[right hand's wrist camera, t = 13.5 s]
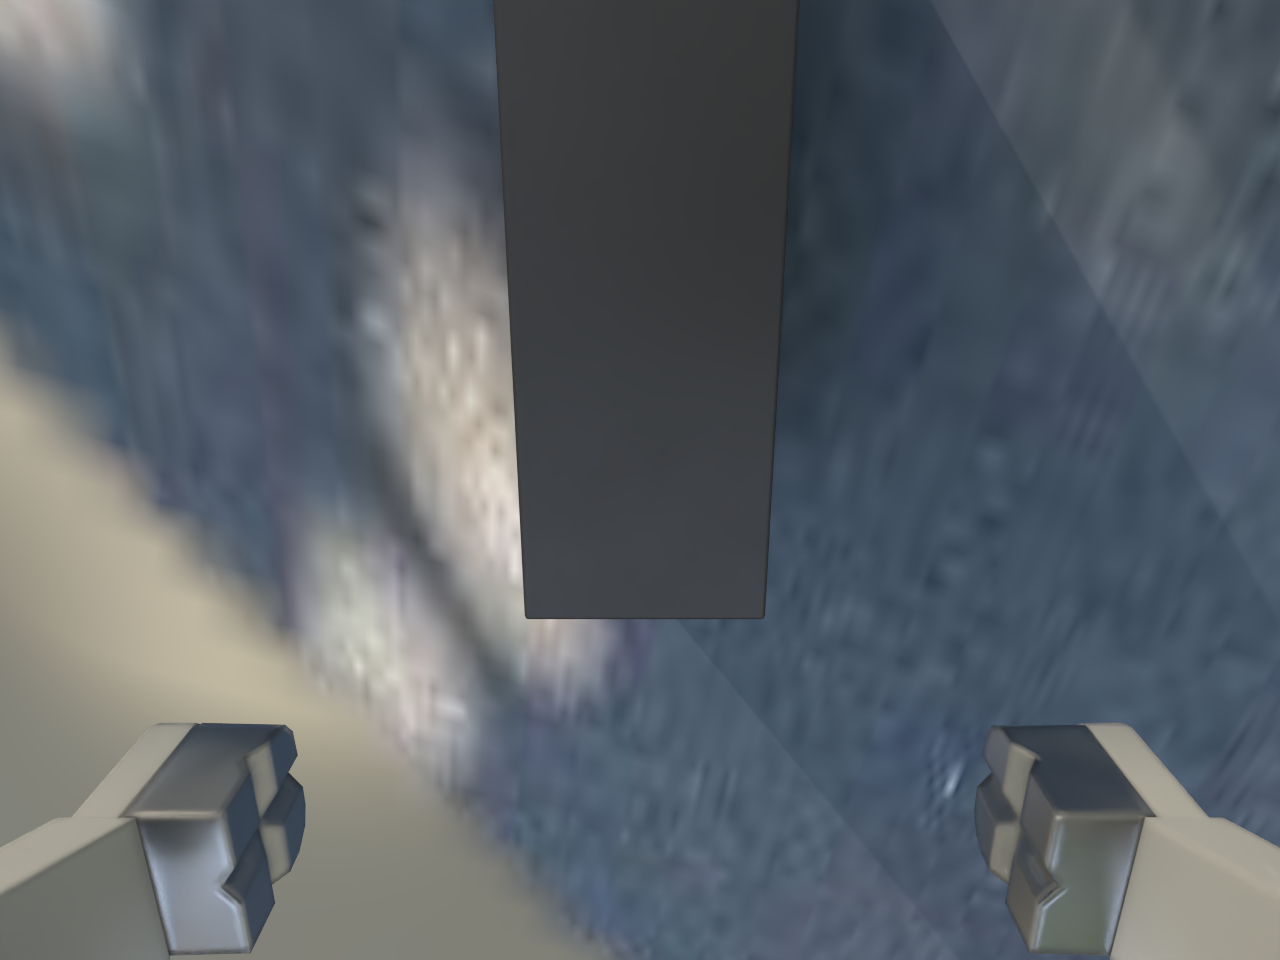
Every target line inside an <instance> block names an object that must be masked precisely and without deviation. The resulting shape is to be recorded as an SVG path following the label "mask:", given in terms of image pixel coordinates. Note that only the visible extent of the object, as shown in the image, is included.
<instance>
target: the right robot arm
mask: <svg viewBox="0 0 1280 960" xmlns="http://www.w3.org/2000/svg"><path fill="white" fill-rule="evenodd" d="M296 757H297V750H296V745H295V740H294V735H293V731H292V730H291V729H289V728H288V727H287V726H286V725H267V724H223V723H202V724H198V723H159V724H156V725H153V726H150V727H148V728H147V729H146V730H145V731H144V733H143V734H142V735H141V736H140V737H139V739H138V740H137V741H136V742H135V743H134V744H133V745H132V747H131V748H130V749H129V750H128V751H127V753H126V754H125V755H124V756H123V757H122V758H121V760H120V761H119V762H118V763H117V764H116V765H115V767H114V768H113V769H112V770H111V771H110V772H109V774H108V775H107V776H106V777H105V778H104V779H103V781H102V782H101V783H100V784H99V785H98V786H97V788H96V789H95V790H94V791H93V792H92V794H91V795H90V796H89V797H88V798H87V799H86V801H85V802H84V803H83V804H82V805H81V806H80V808H79V809H78V810H77V811H76V812H75V813H74V815H73V816H72V817H71V818H55V819H53V820H52V821H50V822H48V823H46V824H44V825H42V826H40V827H38V828H36V829H34V830H33V831H31V832H29V833H27V834H25V835H23V836H21V837H19V838H17V839H16V840H13V841H12V842H10V843H8V844H6V845H4V846H2V847H0V960H170V956H169V955H202V954H236V953H251V951H252V949H253V947H254V945H255V943H256V941H257V939H258V937H259V935H260V933H261V931H262V928H263V927H264V924H265V922H266V920H267V918H268V916H269V914H270V912H271V910H272V908H273V906H274V904H275V900H274V895H273V889H272V884H274V883H275V882H276V881H278V880H279V879H280V878H282V877H283V876H285V875H286V874H287V873H289V872H290V871H291V869H292V866H293V864H294V862H295V860H296V857H297V855H298V853H299V851H300V846H301V841H302V837H303V832H304V828H305V799H304V792H303V787H302V786H301V785H300V784H299V783H298V782H297V781H296V780H295V779H294V778H293V777H292V776H291V775H290V774H289V773H288V772H289V770H290V768H291V766H292V765H293V763H294V761H295V759H296ZM983 757H984V759H985V761H986V763H987V765H988V766H989V768H990V770H991V772H992V773H991V774H990V775H989V776H988V777H987V778H986V779H985V780H984V781H983V782H982V783H981V784H980V785H979V786H978V787H977V793H976V801H975V809H974V814H975V825H976V836H977V839H978V843H979V846H980V850H981V853H982V856H983V858H984V860H985V862H986V864H987V866H988V869H989V871H990V872H991V873H993V874H994V875H995V876H997V877H998V878H1000V879H1001V880H1002V881H1004V882H1005V883H1006V884H1008V889H1007V895H1006V900H1005V904H1006V906H1007V908H1008V910H1009V912H1010V914H1011V916H1012V918H1013V920H1014V922H1015V924H1016V926H1017V928H1018V931H1019V933H1020V935H1021V937H1022V939H1023V941H1024V943H1025V945H1026V947H1027V949H1028V951H1029V953H1041V954H1076V955H1111V956H1110V960H1280V847H1278V846H1276V845H1274V844H1272V843H1270V842H1268V841H1266V840H1265V839H1263V838H1261V837H1259V836H1257V835H1255V834H1253V833H1251V832H1249V831H1247V830H1246V829H1244V828H1242V827H1240V826H1238V825H1236V824H1234V823H1232V822H1230V821H1228V820H1227V819H1225V818H1209V817H1208V816H1207V815H1206V813H1205V812H1204V811H1203V810H1202V809H1201V808H1200V806H1199V805H1198V804H1197V803H1196V802H1195V801H1194V799H1193V798H1192V797H1191V796H1190V795H1189V794H1188V792H1187V791H1186V790H1185V789H1184V788H1183V787H1182V785H1181V784H1180V783H1179V782H1178V781H1177V780H1176V778H1175V777H1174V776H1173V775H1172V774H1171V773H1170V771H1169V770H1168V769H1167V768H1166V767H1165V765H1164V764H1163V763H1162V762H1161V761H1160V760H1159V758H1158V757H1157V756H1156V755H1155V754H1154V753H1153V751H1152V750H1151V749H1150V748H1149V747H1148V746H1147V744H1146V743H1145V742H1144V741H1143V740H1142V739H1141V737H1140V736H1139V735H1138V734H1137V733H1136V732H1135V730H1134V729H1133V728H1131V727H1130V726H1128V725H1126V724H1124V723H1122V722H1117V723H1085V724H1078V725H1022V726H991V727H990V729H989V731H988V733H987V735H986V738H985V744H984V749H983Z"/></svg>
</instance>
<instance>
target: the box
mask: <svg viewBox="0 0 1280 960" xmlns="http://www.w3.org/2000/svg"><path fill="white" fill-rule="evenodd" d="M493 4H494V23H495V43H496V62H497V82H498V101H499V121H500V140H501V160H502V179H503V199H504V218H505V237H506V257H507V276H508V296H509V315H510V335H511V354H512V374H513V393H514V413H515V432H516V451H517V471H518V490H519V510H520V529H521V549H522V568H523V588H524V607H525V617H526V618H527V619H763V618H764V616H765V604H766V586H767V568H768V550H769V532H770V515H771V497H772V479H773V461H774V443H775V426H776V408H777V390H778V372H779V354H780V336H781V319H782V301H783V283H784V265H785V247H786V230H787V212H788V194H789V176H790V158H791V140H792V123H793V105H794V87H795V69H796V51H797V34H798V16H799V0H493Z"/></svg>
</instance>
